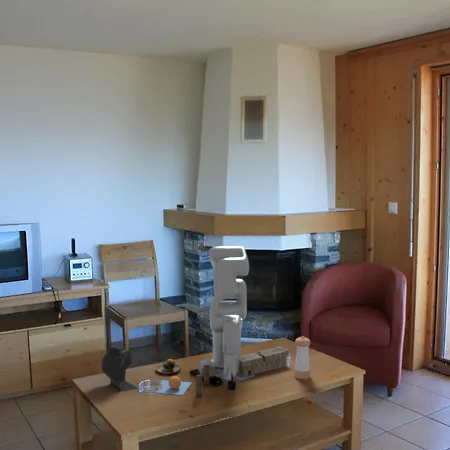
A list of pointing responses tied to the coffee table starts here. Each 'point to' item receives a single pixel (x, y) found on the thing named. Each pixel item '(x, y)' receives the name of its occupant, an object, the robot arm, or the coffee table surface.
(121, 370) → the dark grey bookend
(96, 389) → the coffee table surface
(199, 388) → the post
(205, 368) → the post
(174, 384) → the ball
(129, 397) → the coffee table surface
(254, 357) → the block tower
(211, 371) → the ceramic mug
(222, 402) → the coffee table surface
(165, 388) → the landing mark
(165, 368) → the fruit plate
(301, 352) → the salt shaker
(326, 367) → the coffee table surface
